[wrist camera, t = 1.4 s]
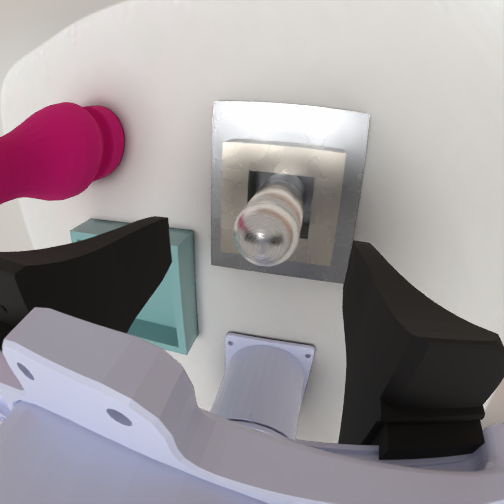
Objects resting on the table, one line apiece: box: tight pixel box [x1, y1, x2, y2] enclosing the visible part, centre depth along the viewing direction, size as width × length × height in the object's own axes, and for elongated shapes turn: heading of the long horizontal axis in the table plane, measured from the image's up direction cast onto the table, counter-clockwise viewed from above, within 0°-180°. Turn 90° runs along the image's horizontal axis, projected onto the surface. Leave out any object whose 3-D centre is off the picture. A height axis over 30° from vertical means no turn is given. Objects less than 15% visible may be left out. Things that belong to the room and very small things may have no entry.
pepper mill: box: [0, 102, 124, 204], centre depth 14 cm, size 7×7×20 cm
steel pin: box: [233, 173, 307, 266], centre depth 17 cm, size 3×3×8 cm
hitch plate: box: [211, 101, 370, 284], centre depth 20 cm, size 12×10×4 cm
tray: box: [70, 219, 198, 355], centre depth 26 cm, size 10×10×3 cm
